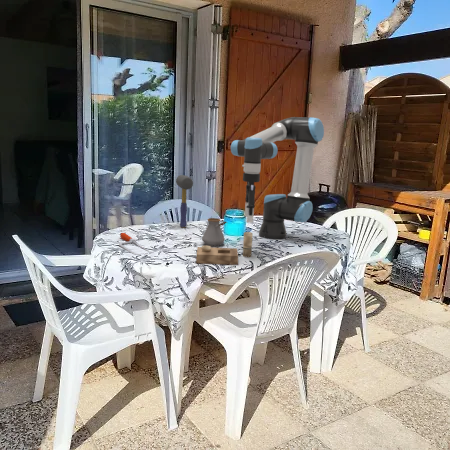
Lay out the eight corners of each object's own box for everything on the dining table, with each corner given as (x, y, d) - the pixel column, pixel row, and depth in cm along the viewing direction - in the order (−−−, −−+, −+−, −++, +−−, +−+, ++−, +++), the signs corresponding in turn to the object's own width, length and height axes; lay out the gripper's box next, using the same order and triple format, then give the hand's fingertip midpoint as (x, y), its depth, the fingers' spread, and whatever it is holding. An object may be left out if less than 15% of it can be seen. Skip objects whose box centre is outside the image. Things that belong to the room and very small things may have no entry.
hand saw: (156, 250, 212) (137, 253, 206) (156, 256, 213) (137, 259, 207) (125, 232, 236) (106, 234, 230) (125, 237, 237) (106, 240, 231)
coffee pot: (198, 242, 235) (199, 213, 231) (219, 240, 239) (220, 212, 236) (213, 253, 215) (214, 222, 212) (235, 252, 220) (237, 221, 216)
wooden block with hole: (236, 256, 212) (237, 244, 211) (237, 264, 200) (238, 251, 199) (197, 255, 211) (197, 242, 210) (196, 263, 200) (196, 249, 198)
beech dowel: (251, 254, 216) (252, 232, 214) (251, 257, 212) (253, 234, 210) (242, 254, 216) (243, 231, 214) (242, 257, 212) (244, 233, 210)
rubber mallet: (192, 229, 260) (194, 176, 254) (179, 230, 258) (181, 176, 251) (186, 224, 272) (187, 174, 265) (174, 225, 269) (175, 174, 262)
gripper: (241, 169, 218) (239, 213, 222) (245, 175, 193) (242, 224, 198) (257, 170, 218) (254, 214, 222) (262, 176, 193) (259, 225, 198)
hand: (248, 219), depth 210 cm, fingers open, 13 cm apart
